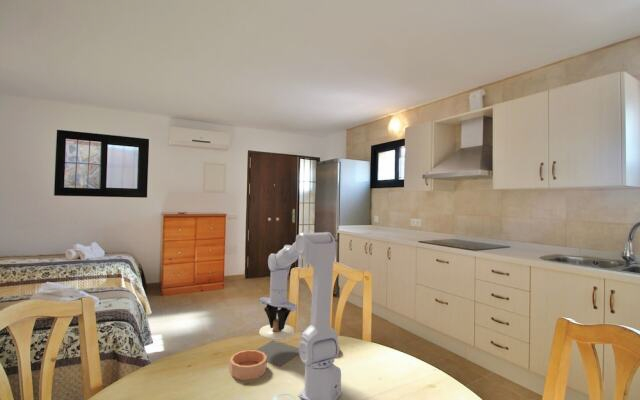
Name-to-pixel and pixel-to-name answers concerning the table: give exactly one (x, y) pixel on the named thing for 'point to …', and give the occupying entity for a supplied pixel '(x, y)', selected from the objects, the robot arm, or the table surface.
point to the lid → (276, 331)
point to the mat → (278, 352)
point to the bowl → (248, 364)
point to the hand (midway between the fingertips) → (277, 328)
